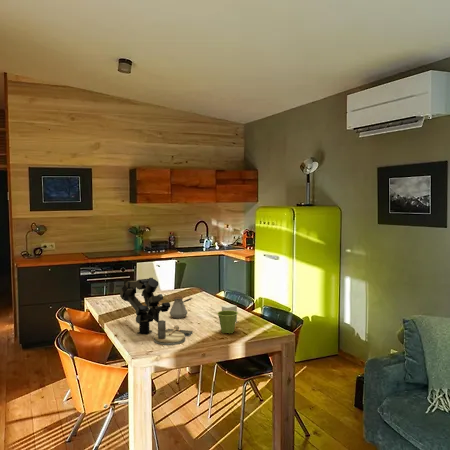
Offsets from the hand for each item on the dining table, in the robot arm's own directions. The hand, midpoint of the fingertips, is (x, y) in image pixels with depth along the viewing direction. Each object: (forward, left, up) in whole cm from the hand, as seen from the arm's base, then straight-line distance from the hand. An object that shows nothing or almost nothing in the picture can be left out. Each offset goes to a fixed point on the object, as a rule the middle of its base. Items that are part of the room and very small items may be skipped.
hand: (157, 321), depth 251 cm
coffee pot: (-46, -5, -11) cm, 48 cm away
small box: (-46, +26, -11) cm, 54 cm away
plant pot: (-26, +31, -11) cm, 42 cm away
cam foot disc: (-6, +5, -9) cm, 12 cm away
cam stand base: (-6, +6, -10) cm, 13 cm away
